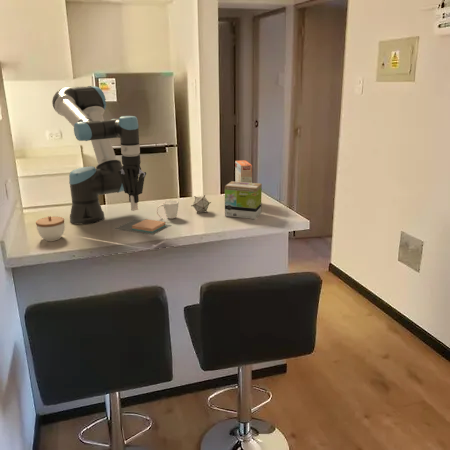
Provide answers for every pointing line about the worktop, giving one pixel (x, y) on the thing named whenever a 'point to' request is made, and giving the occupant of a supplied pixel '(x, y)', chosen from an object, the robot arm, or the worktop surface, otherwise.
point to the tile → (148, 226)
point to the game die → (200, 204)
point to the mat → (129, 228)
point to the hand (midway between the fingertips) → (134, 209)
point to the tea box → (243, 199)
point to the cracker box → (243, 171)
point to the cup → (170, 208)
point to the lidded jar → (50, 228)
